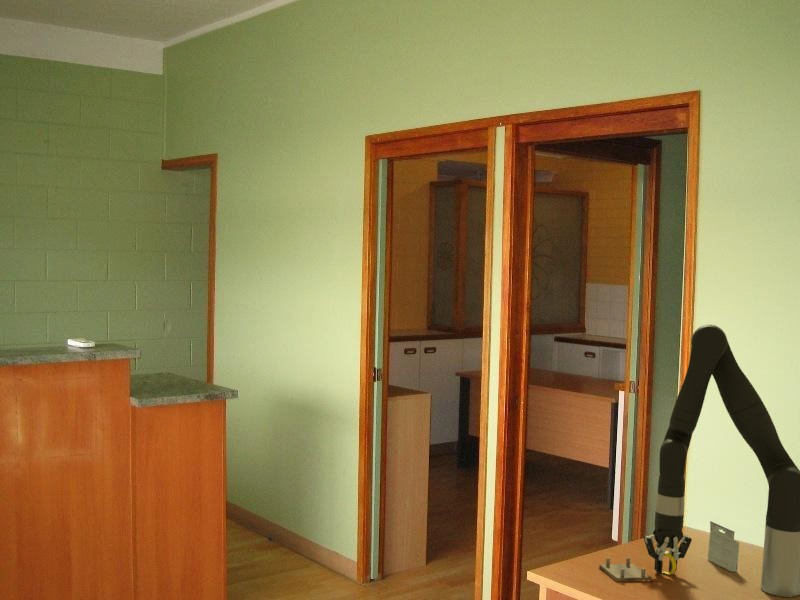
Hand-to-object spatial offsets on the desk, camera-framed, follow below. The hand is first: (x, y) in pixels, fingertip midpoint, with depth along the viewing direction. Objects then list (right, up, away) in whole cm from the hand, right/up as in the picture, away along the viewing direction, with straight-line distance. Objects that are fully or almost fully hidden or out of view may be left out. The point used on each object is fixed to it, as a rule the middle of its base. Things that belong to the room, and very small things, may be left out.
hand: (665, 572), depth 256 cm
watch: (0, -1, 0) cm, 1 cm away
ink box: (+19, -1, +10) cm, 22 cm away
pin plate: (-12, 0, -3) cm, 12 cm away
